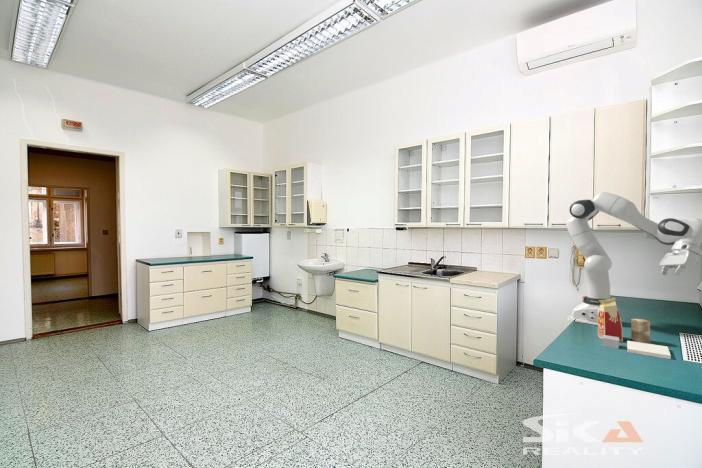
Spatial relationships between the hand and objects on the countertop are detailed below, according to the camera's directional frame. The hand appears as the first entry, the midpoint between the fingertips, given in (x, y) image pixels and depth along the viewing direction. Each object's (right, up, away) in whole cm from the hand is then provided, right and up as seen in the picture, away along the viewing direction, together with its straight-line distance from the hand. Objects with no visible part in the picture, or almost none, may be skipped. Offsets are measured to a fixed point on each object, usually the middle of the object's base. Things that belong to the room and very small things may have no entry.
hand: (669, 274), depth 169 cm
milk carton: (-28, -32, +2) cm, 42 cm away
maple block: (-16, -31, -3) cm, 36 cm away
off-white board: (-25, -32, -17) cm, 43 cm away
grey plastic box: (-35, -32, -9) cm, 49 cm away
